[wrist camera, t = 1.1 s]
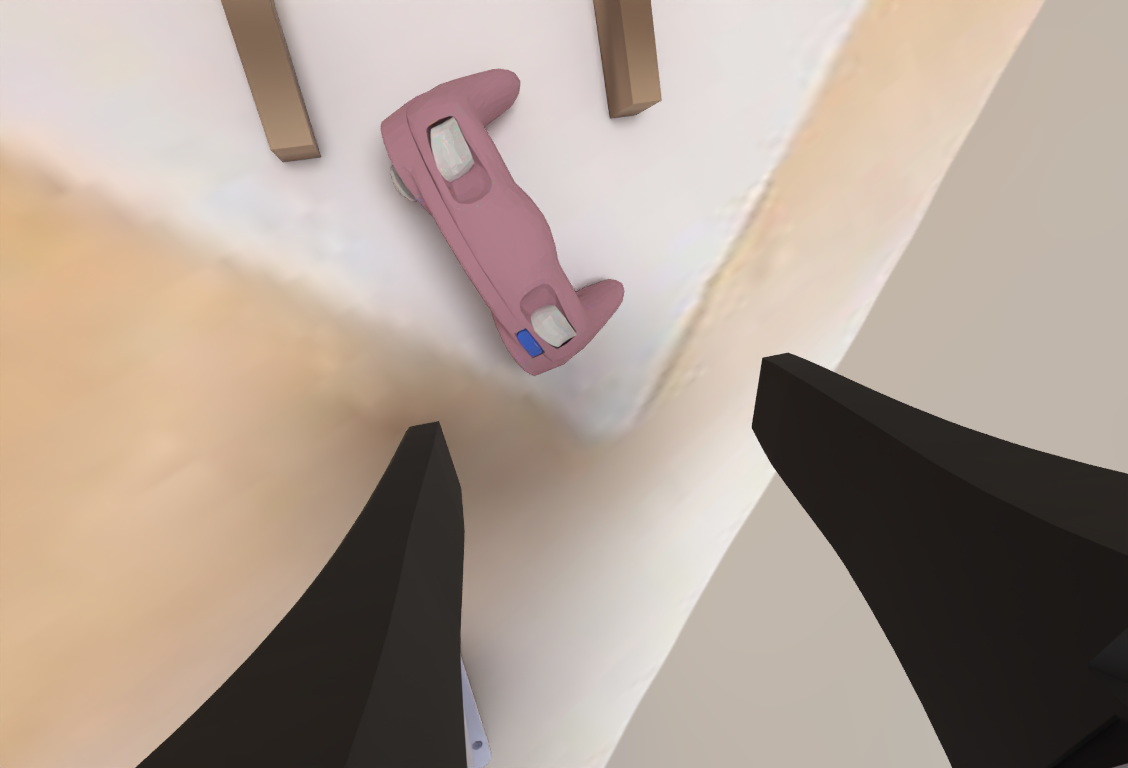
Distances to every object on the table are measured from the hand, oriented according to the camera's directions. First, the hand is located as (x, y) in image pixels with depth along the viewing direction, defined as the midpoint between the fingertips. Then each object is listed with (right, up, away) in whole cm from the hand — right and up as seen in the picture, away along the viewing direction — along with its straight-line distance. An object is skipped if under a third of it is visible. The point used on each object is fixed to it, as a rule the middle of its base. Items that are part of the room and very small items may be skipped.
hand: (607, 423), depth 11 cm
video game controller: (-3, +7, +9) cm, 12 cm away
